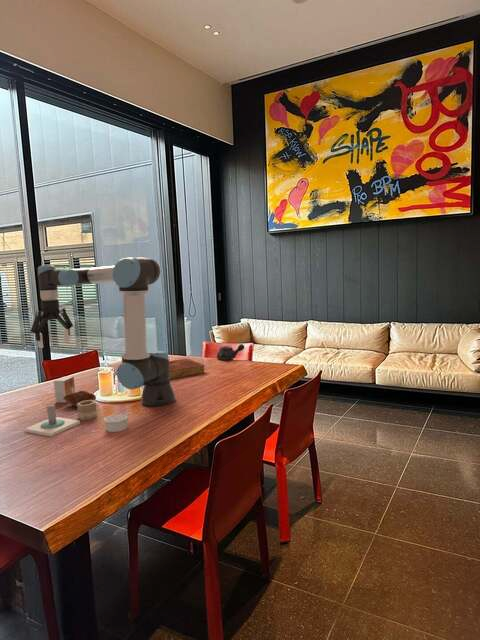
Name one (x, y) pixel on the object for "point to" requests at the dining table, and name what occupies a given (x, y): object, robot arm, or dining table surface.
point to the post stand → (52, 424)
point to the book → (184, 368)
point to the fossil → (78, 397)
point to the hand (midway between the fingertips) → (54, 345)
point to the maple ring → (86, 409)
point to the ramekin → (116, 422)
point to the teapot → (228, 352)
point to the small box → (63, 388)
